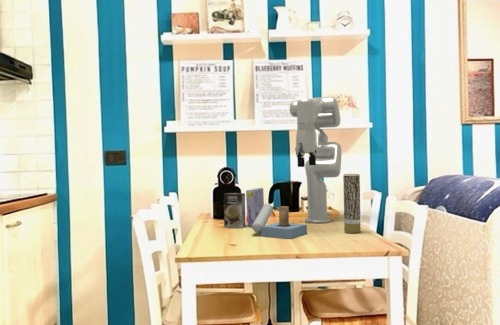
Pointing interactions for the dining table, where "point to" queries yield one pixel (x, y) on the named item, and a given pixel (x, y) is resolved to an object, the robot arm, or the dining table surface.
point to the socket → (284, 230)
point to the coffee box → (234, 210)
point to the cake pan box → (254, 204)
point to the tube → (262, 217)
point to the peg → (283, 216)
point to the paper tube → (351, 203)
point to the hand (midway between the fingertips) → (306, 166)
